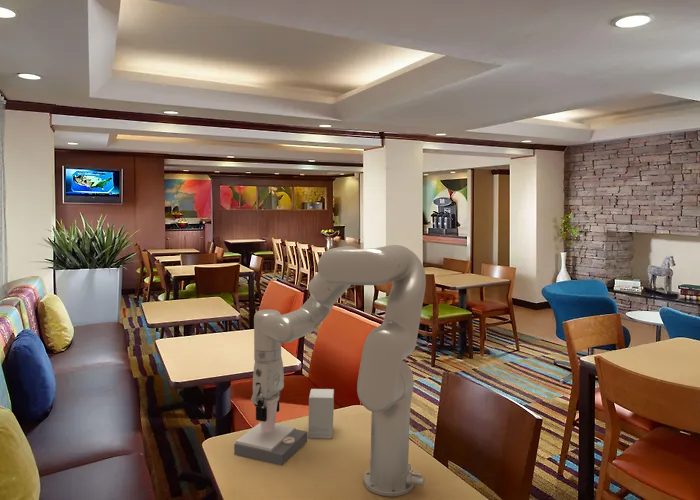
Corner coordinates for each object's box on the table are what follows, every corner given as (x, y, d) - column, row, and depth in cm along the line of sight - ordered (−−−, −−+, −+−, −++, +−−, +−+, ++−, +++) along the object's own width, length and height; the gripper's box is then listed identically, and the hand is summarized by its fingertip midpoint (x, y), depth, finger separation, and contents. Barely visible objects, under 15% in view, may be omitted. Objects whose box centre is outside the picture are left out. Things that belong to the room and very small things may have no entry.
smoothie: (274, 435, 141) (274, 386, 140) (252, 432, 142) (252, 384, 141) (282, 425, 147) (282, 378, 146) (261, 423, 148) (261, 376, 147)
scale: (307, 441, 149) (307, 428, 149) (282, 465, 135) (282, 452, 135) (262, 431, 154) (262, 419, 154) (234, 454, 141) (234, 441, 140)
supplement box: (332, 439, 151) (333, 398, 150) (307, 438, 151) (308, 397, 150) (333, 427, 158) (334, 388, 157) (309, 427, 158) (310, 388, 157)
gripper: (263, 365, 133) (263, 430, 135) (294, 347, 149) (293, 406, 151) (238, 361, 136) (239, 425, 138) (271, 344, 152) (271, 402, 154)
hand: (267, 415), depth 144 cm, fingers closed on smoothie, 6 cm apart
